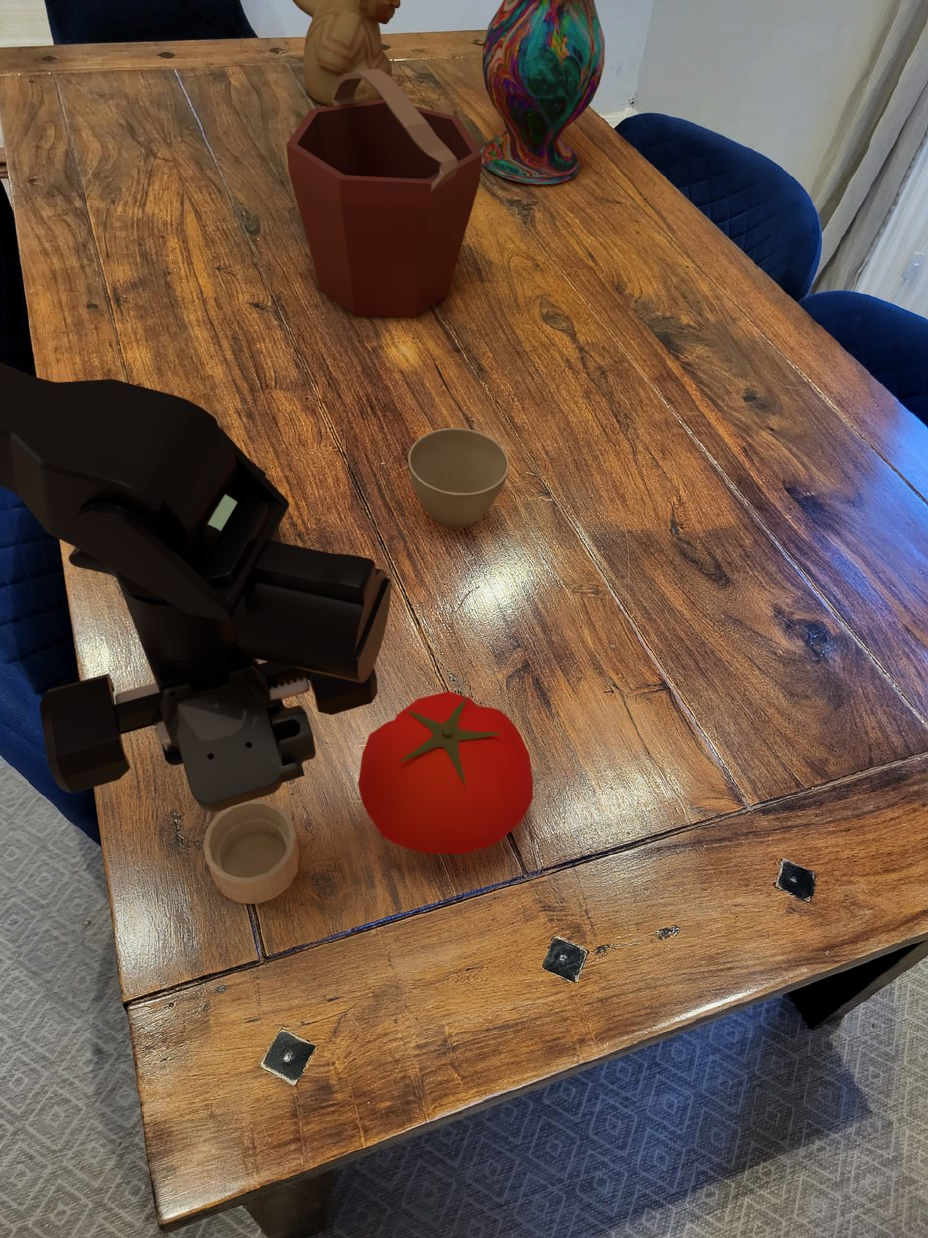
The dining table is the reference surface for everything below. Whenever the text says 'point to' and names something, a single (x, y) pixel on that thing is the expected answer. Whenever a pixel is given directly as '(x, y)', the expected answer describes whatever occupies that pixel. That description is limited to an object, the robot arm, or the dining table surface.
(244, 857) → the bowl
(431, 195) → the bucket
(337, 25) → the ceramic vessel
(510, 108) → the vase
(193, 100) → the dining table surface
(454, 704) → the tomato
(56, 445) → the robot arm
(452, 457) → the brown cup
